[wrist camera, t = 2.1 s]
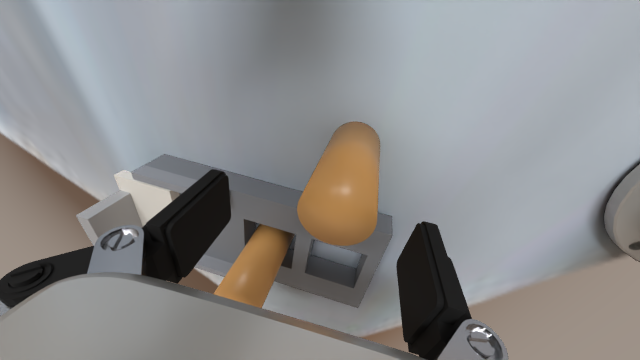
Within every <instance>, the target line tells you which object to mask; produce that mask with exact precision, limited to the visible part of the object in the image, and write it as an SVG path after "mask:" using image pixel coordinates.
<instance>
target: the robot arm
mask: <svg viewBox="0 0 640 360" xmlns="http://www.w3.org/2000/svg"><path fill="white" fill-rule="evenodd" d="M230 219H231V205H230V192H229V178H228V176H227V175H226V173H225V172H224V171H220V170H216V169H211V170H210V171H209V172H207V173H206V174H205V175H204V176H203V177H201V178H200V179H199V180H198V181H196V182H195V183H194V184H193V185H192V186H190V187H189V188H188V189H187V190H185V191H184V192H183V193H182V194H181V195H179V196H178V197H177V198H176V199H175V200H173V201H172V202H171V203H170V204H168V205H167V206H166V207H165V208H164V209H162V210H161V211H160V212H159V213H157V214H156V215H155V216H154V217H153V218H151V219H150V220H149V221H148V222H147V223H146V225H144V226H143V227H142V228H141V227H139V226H136V225H123V226H119V227H116V228H113V229H111V230H109V231H107V232H105V233H104V234H102V235H101V236H100V237H99V238H98V239H97V241H96V243H95V245H94V246H91V247H87V248H84V249H80V250H76V251H72V252H68V253H64V254H61V255H57V256H53V257H49V258H45V259H41V260H38V261H34V262H31V263H28V264H25V265H23V266H21V267H18V268H16V269H14V270H13V271H11V272H10V273H8V274H6V275H5V276H4V277H3V278H2V279H1V280H0V360H508V353H507V350H506V348H505V346H504V344H503V342H502V340H501V339H500V338H499V336H498V335H497V334H496V333H495V332H494V331H493V330H492V329H491V328H490V327H488V326H487V325H485V324H484V323H482V322H480V321H478V320H473V319H472V318H471V315H470V312H469V309H468V306H467V303H466V300H465V297H464V295H463V292H462V289H461V286H460V283H459V280H458V277H457V274H456V271H455V269H454V266H453V263H452V261H451V259H450V258H449V257H448V256H447V253H446V250H445V247H444V244H443V241H442V238H441V235H440V232H439V229H438V226H437V225H436V224H432V223H428V222H422V223H421V224H419V223H418V224H417V225H416V227H415V229H414V231H413V232H412V234H411V236H410V238H409V240H408V242H407V244H406V245H405V247H404V249H403V251H402V253H401V255H400V257H399V258H398V261H397V276H398V286H399V296H400V307H401V317H402V327H403V337H404V341H405V342H407V343H408V349H409V352H411V353H415V354H418V355H419V357H418V356H416V355H413V354H410V353H407V352H404V351H401V350H398V349H395V348H391V347H388V346H385V345H382V344H379V343H376V342H372V341H369V340H366V339H363V338H360V337H356V336H353V335H350V334H346V333H343V332H340V331H336V330H333V329H330V328H326V327H323V326H320V325H316V324H313V323H310V322H306V321H303V320H299V319H296V318H293V317H289V316H286V315H283V314H279V313H276V312H272V311H269V310H266V309H262V308H259V307H255V306H252V305H249V304H245V303H242V302H238V301H235V300H231V299H228V298H224V297H221V296H218V295H214V294H211V293H207V292H204V291H200V290H197V289H193V288H190V287H186V286H182V285H179V284H175V283H178V282H179V281H180V280H181V279H182V277H186V276H187V275H188V274H189V273H190V272H191V271H192V269H193V268H194V267H195V265H196V264H197V263H198V261H199V260H200V259H201V258H202V256H203V255H204V254H205V252H206V251H207V250H208V249H209V247H210V246H211V245H212V243H213V242H214V241H215V240H216V238H217V237H218V236H219V234H220V233H221V232H222V231H223V229H224V228H225V227H226V225H227V224H228V223H229V221H230ZM604 222H605V229H606V231H607V233H608V235H609V237H610V239H611V240H612V241H613V242H614V243H615V244H616V245H617V246H618V247H620V248H621V249H622V250H623V251H624V252H625V253H626V254H628V255H629V256H630V257H632V258H633V259H635V260H637V261H639V262H640V164H639V165H638V166H637V167H636V168H635V169H634V170H632V171H631V172H630V173H629V174H628V175H627V176H626V177H625V178H624V179H623V181H622V182H621V183H620V184H619V185H618V187H617V188H616V189H615V190H614V192H613V194H612V196H611V198H610V199H609V201H608V203H607V206H606V210H605V215H604ZM166 280H167V281H170V282H167V281H166ZM171 282H174V283H171Z"/></svg>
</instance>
